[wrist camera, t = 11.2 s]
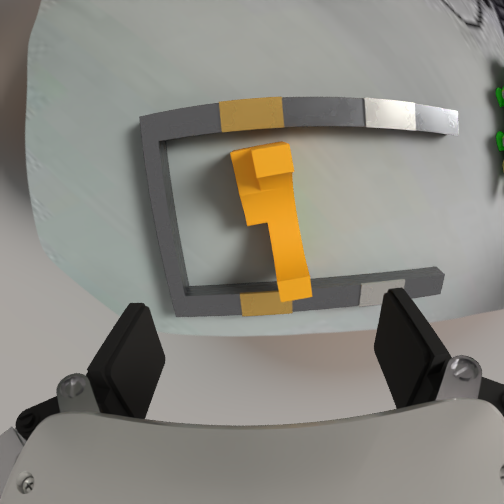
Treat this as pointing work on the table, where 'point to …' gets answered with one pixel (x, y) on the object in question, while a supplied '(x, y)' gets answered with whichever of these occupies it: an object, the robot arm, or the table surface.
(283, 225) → the pipe clamp
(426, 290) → the rail frame
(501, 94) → the crocodile figurine
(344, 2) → the table surface
